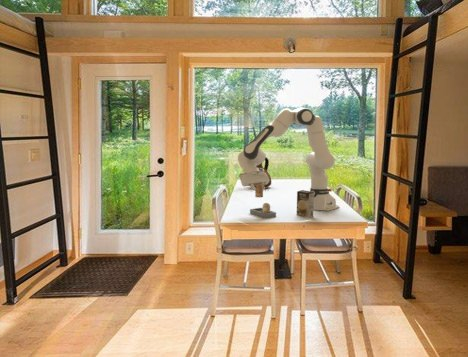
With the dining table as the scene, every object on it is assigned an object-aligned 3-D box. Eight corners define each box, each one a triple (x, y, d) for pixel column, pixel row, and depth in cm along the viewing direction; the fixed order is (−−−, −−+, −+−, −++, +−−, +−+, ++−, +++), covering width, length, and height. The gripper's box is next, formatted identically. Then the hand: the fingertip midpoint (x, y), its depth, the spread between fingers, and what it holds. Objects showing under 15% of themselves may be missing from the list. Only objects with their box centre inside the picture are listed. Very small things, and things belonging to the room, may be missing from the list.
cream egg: (267, 214, 230) (267, 201, 229) (271, 216, 226) (271, 203, 225) (260, 215, 228) (261, 202, 227) (265, 217, 224) (265, 204, 223)
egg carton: (260, 212, 239) (260, 207, 239) (275, 217, 226) (275, 212, 225) (250, 214, 235) (250, 209, 234) (264, 219, 221) (265, 214, 221)
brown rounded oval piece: (259, 195, 235) (260, 182, 234) (264, 196, 231) (264, 183, 230) (253, 196, 232) (254, 183, 231) (258, 197, 228) (258, 184, 227)
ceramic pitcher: (245, 187, 338) (245, 155, 334) (260, 185, 351) (261, 154, 347) (260, 190, 323) (260, 157, 319) (275, 188, 336) (276, 155, 332)
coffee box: (295, 216, 230) (296, 191, 228) (301, 214, 235) (302, 189, 232) (308, 218, 224) (308, 193, 222) (313, 216, 228) (314, 191, 226)
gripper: (239, 170, 230) (248, 188, 223) (265, 168, 240) (274, 185, 234) (235, 176, 234) (244, 194, 227) (261, 174, 245) (270, 191, 238)
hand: (259, 189), depth 231 cm, fingers closed on brown rounded oval piece, 5 cm apart
